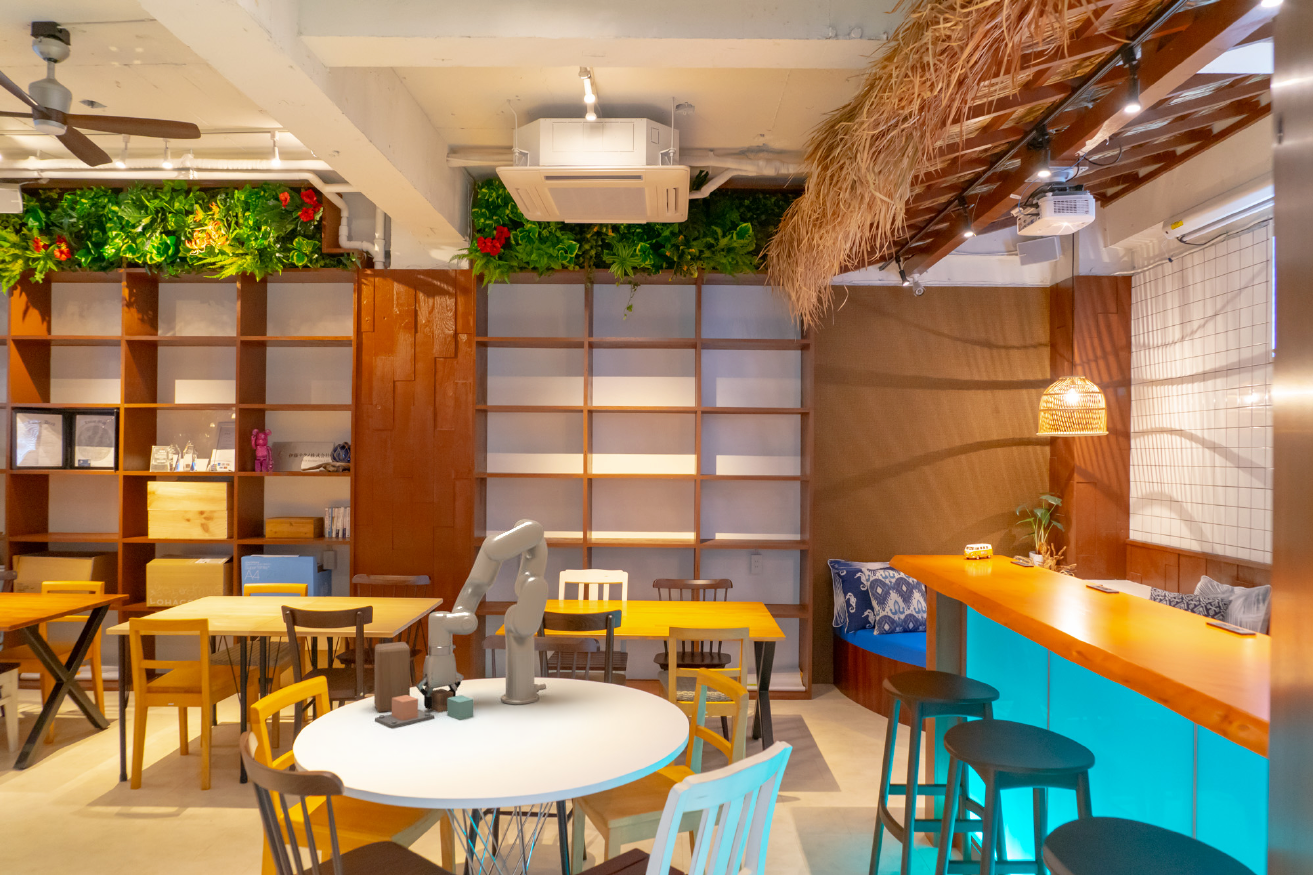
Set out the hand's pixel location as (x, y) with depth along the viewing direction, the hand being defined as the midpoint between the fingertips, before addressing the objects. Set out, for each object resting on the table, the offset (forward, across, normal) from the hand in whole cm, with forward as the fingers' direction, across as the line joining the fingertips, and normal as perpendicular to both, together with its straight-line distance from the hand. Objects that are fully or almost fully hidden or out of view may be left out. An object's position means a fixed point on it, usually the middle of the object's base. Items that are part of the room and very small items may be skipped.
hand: (440, 705), depth 266 cm
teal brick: (+1, 0, +12) cm, 12 cm away
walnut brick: (+1, 0, 0) cm, 1 cm away
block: (+1, +10, -13) cm, 16 cm away
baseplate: (+1, +14, +3) cm, 14 cm away
